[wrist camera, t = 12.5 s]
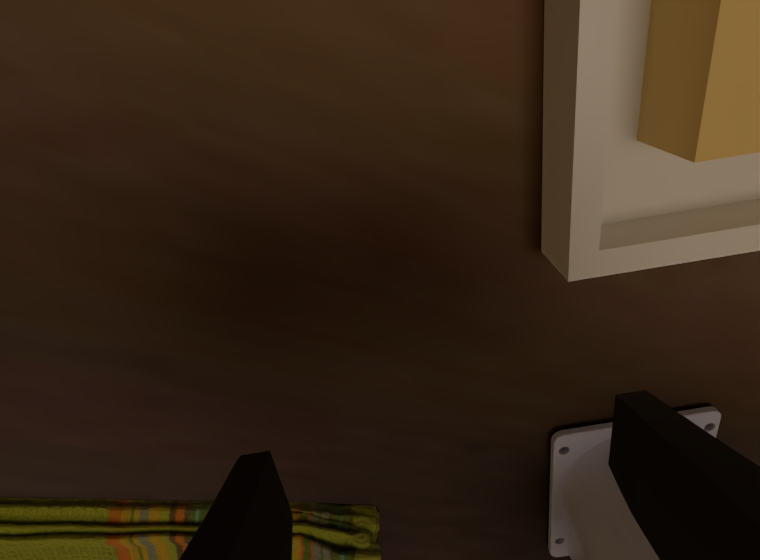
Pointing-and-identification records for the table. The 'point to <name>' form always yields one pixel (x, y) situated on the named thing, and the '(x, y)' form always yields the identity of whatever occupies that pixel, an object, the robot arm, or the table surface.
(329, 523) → the dish towel
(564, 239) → the tray
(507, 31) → the table surface
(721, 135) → the tabbed collar
